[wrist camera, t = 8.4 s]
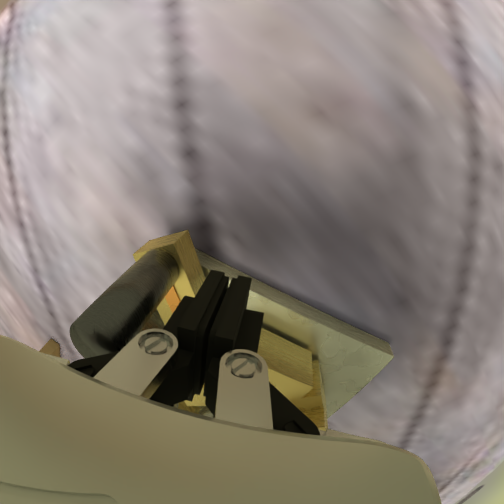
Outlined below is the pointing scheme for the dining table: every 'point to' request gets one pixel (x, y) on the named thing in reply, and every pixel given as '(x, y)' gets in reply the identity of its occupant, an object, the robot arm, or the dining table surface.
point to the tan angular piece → (166, 301)
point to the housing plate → (309, 337)
